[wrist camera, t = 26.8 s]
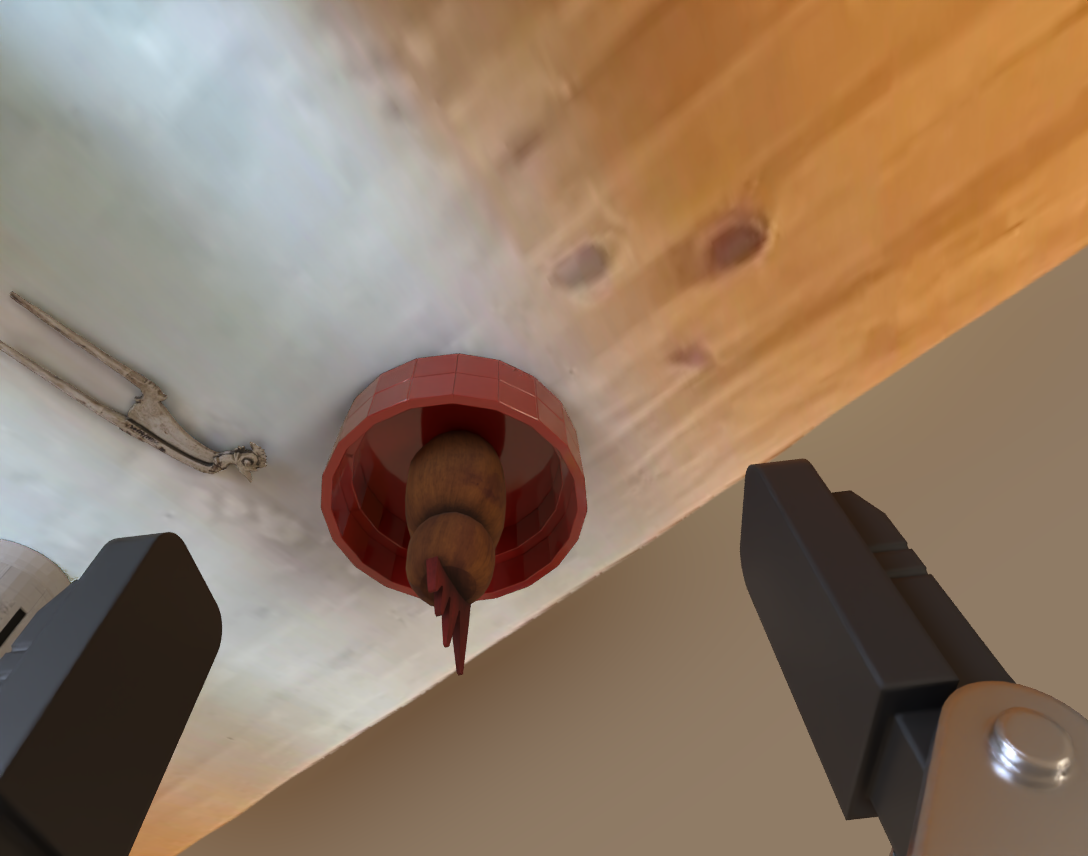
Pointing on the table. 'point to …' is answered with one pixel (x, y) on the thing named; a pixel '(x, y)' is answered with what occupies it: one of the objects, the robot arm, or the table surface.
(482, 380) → the bowl
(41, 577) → the glass holder
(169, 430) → the nutcracker
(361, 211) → the table surface
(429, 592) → the wooden figurine
